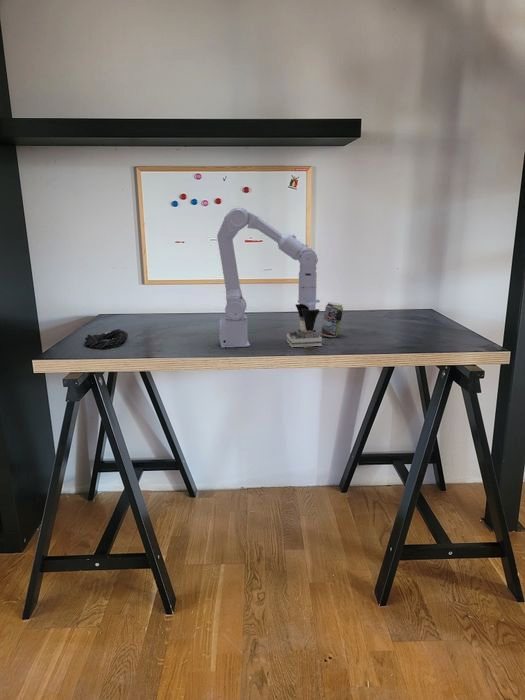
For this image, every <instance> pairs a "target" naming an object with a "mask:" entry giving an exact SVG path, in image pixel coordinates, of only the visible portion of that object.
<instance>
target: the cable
mask: <svg viewBox="0 0 525 700" xmlns="http://www.w3.org/2000/svg"><path fill="white" fill-rule="evenodd" d="M128 337H129V334H128V332H127V331H124V330H123V329H120V328H118V329H114V330H113V329H112V331H110V332H109V331H107V332H103V333H101V334H93V335H92V334H87V337H85V338H84V339H85V341H84V343H85V346H89V347H90V348H93V347H95V348H94V349H97V348H99V349H100V348H101V349H100V350H103V349H114V348H115V347H116V348H117V346H118V345H120V344H121V343H126V341H127V339H128ZM102 338H103V340H100V339H102ZM111 338H113V339H111ZM107 339H108V340H107Z"/></svg>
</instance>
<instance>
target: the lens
mask: <svg viewBox="0 0 525 700" xmlns="http://www.w3.org/2000/svg"><path fill="white" fill-rule="evenodd" d="M299 329H300V332H301V333H313V330H312V331H307V330H306V327H305V320H304V316H303V317H299Z"/></svg>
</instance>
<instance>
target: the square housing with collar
mask: <svg viewBox="0 0 525 700" xmlns="http://www.w3.org/2000/svg"><path fill="white" fill-rule="evenodd" d="M287 342H288V343H289V344H288V343H287ZM322 342H323V339H322V336H320V331H319V329H317V328H313V333H301V332H300V328H298V329H296V330H289V331H288V333H286V343H287V344H288V345H289V347H290V346H291V347H304V348H308V347H307V346H322ZM291 347H290V348H291ZM322 347H323V346H322Z"/></svg>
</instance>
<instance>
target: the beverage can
mask: <svg viewBox="0 0 525 700" xmlns="http://www.w3.org/2000/svg"><path fill="white" fill-rule="evenodd" d="M324 309H325V310H324V316H323V321H322V327H321V333H322V334H323V336H324V337H328V338H337V337H338V336H339V334H340V329H341V328H340V327H341V323H342V317H343V313H344V307H343V304H341V303H338V302H331V301H330V302H327V304H326V305H325V308H324Z"/></svg>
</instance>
